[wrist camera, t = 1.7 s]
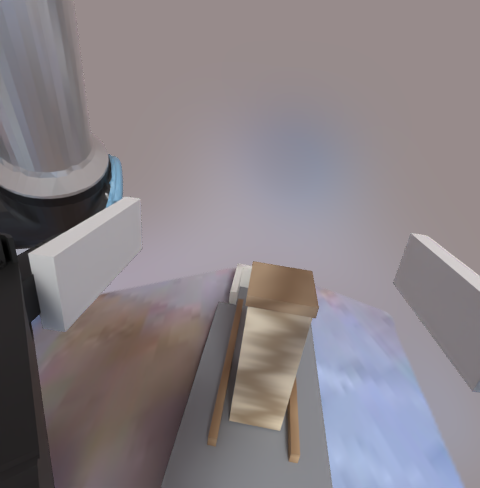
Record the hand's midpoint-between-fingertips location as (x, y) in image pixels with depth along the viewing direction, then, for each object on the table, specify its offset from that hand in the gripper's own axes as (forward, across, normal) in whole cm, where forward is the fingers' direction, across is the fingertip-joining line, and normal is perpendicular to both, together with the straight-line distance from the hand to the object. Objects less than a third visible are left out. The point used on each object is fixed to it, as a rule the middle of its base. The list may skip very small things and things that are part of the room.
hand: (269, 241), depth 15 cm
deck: (+12, +2, -24) cm, 27 cm away
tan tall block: (+10, +2, -22) cm, 24 cm away
